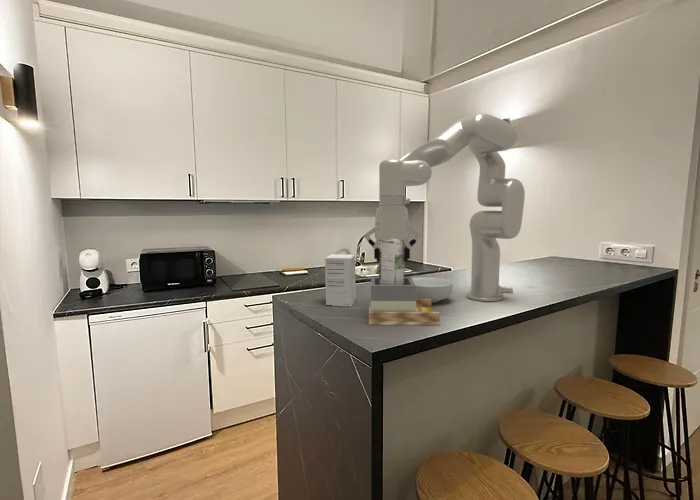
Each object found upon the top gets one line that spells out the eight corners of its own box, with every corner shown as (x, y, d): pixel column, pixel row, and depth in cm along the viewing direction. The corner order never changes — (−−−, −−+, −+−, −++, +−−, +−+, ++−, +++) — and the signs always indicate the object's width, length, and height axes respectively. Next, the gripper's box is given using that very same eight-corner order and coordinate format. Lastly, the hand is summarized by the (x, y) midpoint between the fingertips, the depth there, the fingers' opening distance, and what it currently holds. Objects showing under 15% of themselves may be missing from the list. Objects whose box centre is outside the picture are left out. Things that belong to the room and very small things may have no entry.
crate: (411, 306, 117) (411, 277, 116) (415, 318, 104) (416, 285, 103) (370, 306, 118) (370, 277, 117) (370, 318, 105) (370, 285, 104)
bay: (430, 309, 118) (430, 298, 118) (439, 325, 102) (439, 313, 102) (369, 309, 120) (369, 298, 119) (368, 324, 104) (368, 312, 103)
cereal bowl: (454, 307, 120) (454, 286, 120) (403, 305, 124) (403, 285, 123) (450, 295, 137) (450, 277, 136) (405, 294, 140) (406, 276, 139)
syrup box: (388, 282, 114) (388, 236, 113) (405, 285, 110) (405, 237, 109) (378, 285, 110) (378, 238, 108) (395, 288, 106) (394, 238, 104)
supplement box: (331, 299, 134) (330, 253, 132) (356, 299, 132) (355, 254, 130) (325, 306, 124) (324, 257, 122) (351, 307, 123) (351, 257, 121)
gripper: (420, 202, 111) (419, 259, 112) (362, 203, 112) (363, 259, 114) (423, 202, 103) (422, 263, 105) (362, 202, 104) (362, 263, 106)
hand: (391, 261), depth 109 cm, fingers closed on syrup box, 8 cm apart
